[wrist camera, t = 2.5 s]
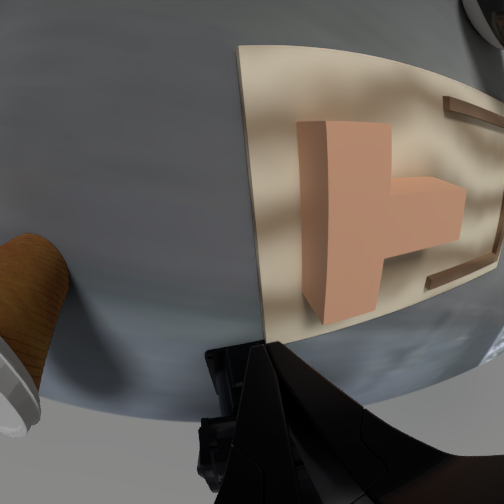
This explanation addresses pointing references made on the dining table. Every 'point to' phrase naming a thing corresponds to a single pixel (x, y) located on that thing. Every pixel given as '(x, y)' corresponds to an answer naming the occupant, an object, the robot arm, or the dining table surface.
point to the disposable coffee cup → (27, 325)
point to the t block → (362, 214)
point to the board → (403, 165)
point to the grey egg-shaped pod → (487, 19)
